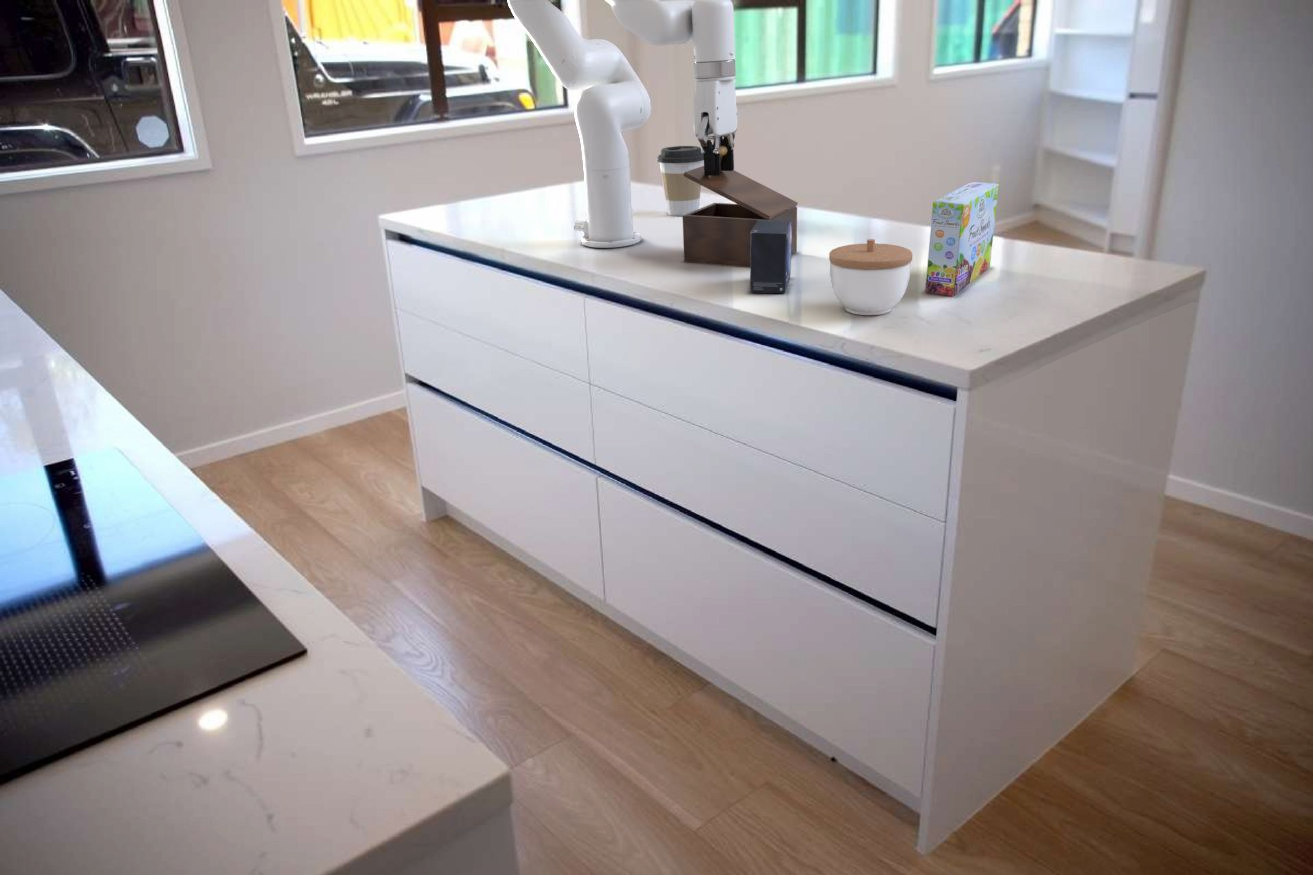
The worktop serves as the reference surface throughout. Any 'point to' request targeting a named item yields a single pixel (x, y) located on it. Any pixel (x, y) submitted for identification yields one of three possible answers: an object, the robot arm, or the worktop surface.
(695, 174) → the lid
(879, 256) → the lidded bowl
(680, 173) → the coffee cup
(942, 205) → the snack box
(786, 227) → the small box
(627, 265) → the worktop surface
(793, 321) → the worktop surface
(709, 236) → the chest
